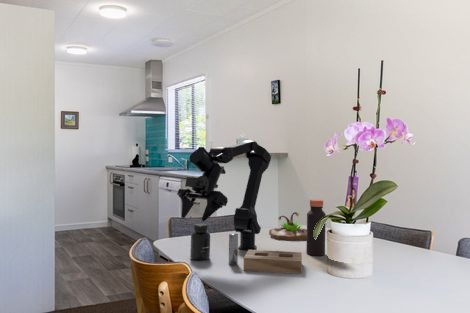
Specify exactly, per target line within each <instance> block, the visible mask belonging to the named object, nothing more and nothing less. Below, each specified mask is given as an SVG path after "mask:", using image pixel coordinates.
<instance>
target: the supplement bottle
mask: <svg viewBox="0 0 470 313" xmlns="http://www.w3.org/2000/svg"><path fill="white" fill-rule="evenodd" d="M193 230H194V231H193V232H192V233H190V260H192V261H196V262H197V261H199V262H203V261H208V260H209V259H210V257H211V234H210V232H209V231H208V230H209V226H208V224H206V223H195V224H194V225H193Z"/></svg>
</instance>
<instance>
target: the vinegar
mask: <svg viewBox="0 0 470 313" xmlns="http://www.w3.org/2000/svg"><path fill="white" fill-rule="evenodd" d="M309 208H310V209H309V210H308V212H307V213H306V229H307V240H306V247H305V248H306V250H305V251H306V254H307V255H309V256H313V257H320V256H321V257H322V256H325V255H326V223H325V224H324V226H323V228H322V230H321V232H320V234H319V235H318V237H317V239H316V240H315V239H314V237H313V230H314V227H315V225H316V223H317V222H318V221H319V220H320V219H321V218H322V217H324V216H327V214H326V212H324V210H323V208H324V200H323V199H310V200H309Z"/></svg>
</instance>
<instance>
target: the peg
mask: <svg viewBox="0 0 470 313" xmlns="http://www.w3.org/2000/svg"><path fill="white" fill-rule="evenodd" d="M238 247H239V233H228V265H229V266H237V265H238V264H239V262H238V261H239V260H238V259H239V257H238V256H239V249H238Z"/></svg>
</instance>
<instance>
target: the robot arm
mask: <svg viewBox="0 0 470 313" xmlns="http://www.w3.org/2000/svg"><path fill="white" fill-rule="evenodd" d="M241 155H245V157H246V158H247V160H248V161H247V162H248V167H249V170H250V171H249V176H248V180H247V183H246V188H245V191H244V192H245V193H244V196H243V201H242V204H241V206H240V207H236V208H235V210H234V215H233V217H232V219H233V226H234V230H235V233H240V237H239V240H240V241H239V242H240V244H239V245H238V250H242V251H243V250H246V251H248V250H257V248H258V246H257V245H256V235H259V234H260V233H261V228H262V227H261V226H260V224H259V222H258V221H257V218H258V215H257V212H256V204H257V198H258V194H259V190H260V188H261V187H260V186H261V182H262V178H263V174H264V173H265V172H266V171H267V169H268V168H269V166H270V163H271V160H272V155H271V154H270V153H269V151H268V150H267V149H266V148H265V147H263V146H261V145H259V144H258V143H257V141H255V140H243V141H242V142H239V143H236V144H232V145H229V146H218V147H217V146H213V147H211V148H210V149H209V151H207V150H206V148H205V147H204V146H198V148H197V149H196V150H194V151H193V152H192V153H191V154H190V155H189V158H188V159H189V163H191V164H192V165H193V166H194V167H196V169H197V170H198V171H199V172H202V175H199V176H198V177H191V176H187V177H186V180H185V185H184V186H185V187H180V188H179V189H178V191H177V193H176V195H177V196H178V197H179V198H180V200H181V204H182V205H181V215H180V216H181V218H182V219H185V218H186V217H187V215H188V214H189V212H190V211H191V209H192V208H193V206H194V205H195V203H194V202H195V201H196V200H206V206H205V209H204V212H203V214H202V216H201V221H202V222H205V221H206V220H207V219H209V218H210V217H211V216H212V215H213V214H214V213H216V212H217V211H218V210H220V209H222V208H223V207H226V206H227V204H228V202H229V201H228V200H229V199H228V197H227V196H226V195H225V194H223V192H222V191H220V190H215V189H218V188H219V185H218V184H217V183H218V182H219V179H220V177H221V175H224V174H226V170H225V166H223V165H220V164H228V163H230V162H232V161H233V160H234V158H235V157H238V156H241ZM190 188H191V189H190Z"/></svg>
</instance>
